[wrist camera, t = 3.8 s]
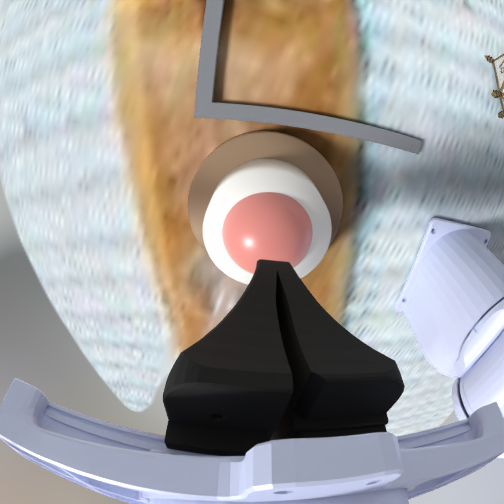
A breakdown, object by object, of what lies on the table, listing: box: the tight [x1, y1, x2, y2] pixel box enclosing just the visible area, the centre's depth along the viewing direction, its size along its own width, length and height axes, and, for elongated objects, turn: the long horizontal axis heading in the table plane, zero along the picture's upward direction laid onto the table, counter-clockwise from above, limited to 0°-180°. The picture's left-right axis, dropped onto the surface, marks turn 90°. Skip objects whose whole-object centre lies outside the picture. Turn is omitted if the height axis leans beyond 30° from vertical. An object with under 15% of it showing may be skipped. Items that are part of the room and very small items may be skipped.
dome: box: [203, 158, 332, 285], centre depth 16 cm, size 7×7×5 cm
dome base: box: [188, 130, 343, 253], centre depth 19 cm, size 10×10×2 cm
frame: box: [194, 0, 422, 154], centre depth 12 cm, size 17×15×1 cm
